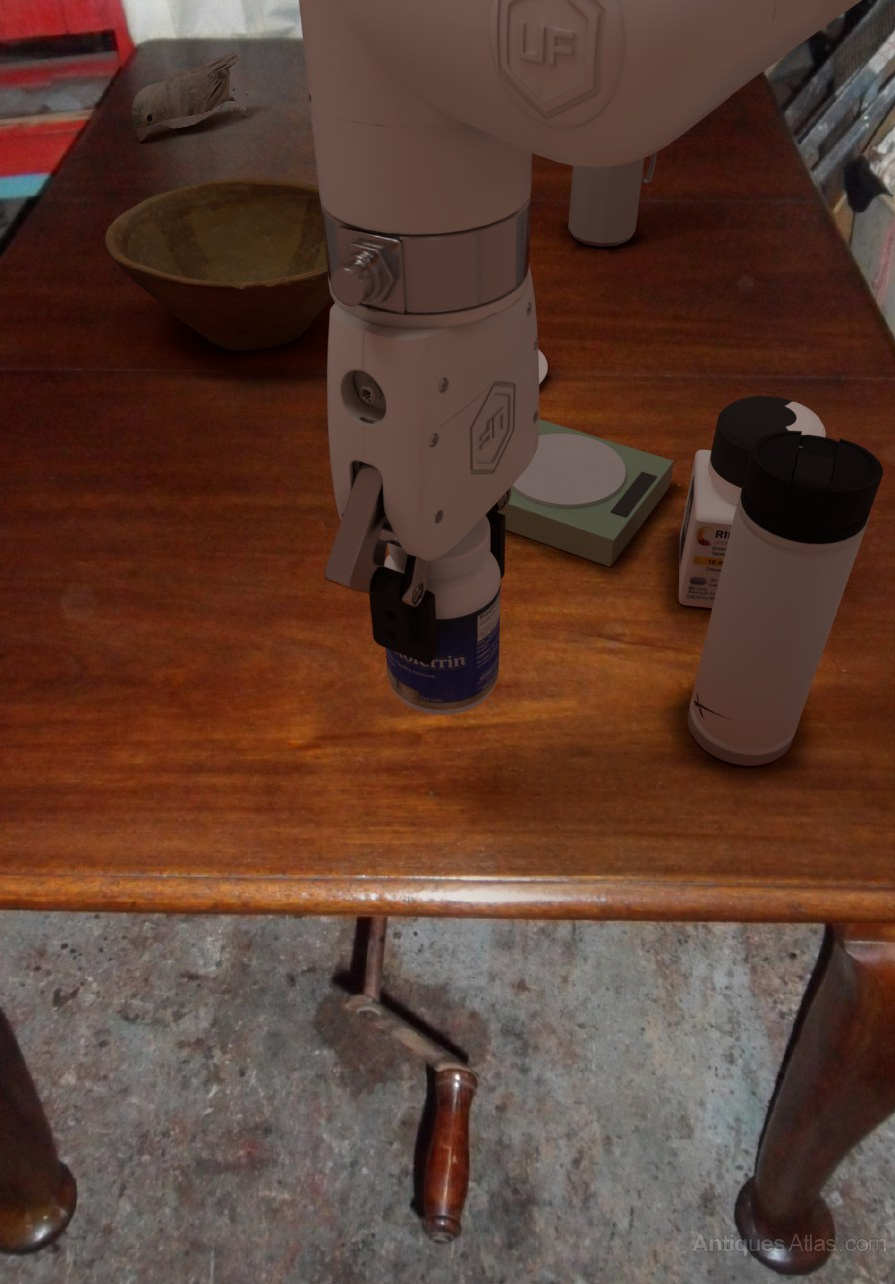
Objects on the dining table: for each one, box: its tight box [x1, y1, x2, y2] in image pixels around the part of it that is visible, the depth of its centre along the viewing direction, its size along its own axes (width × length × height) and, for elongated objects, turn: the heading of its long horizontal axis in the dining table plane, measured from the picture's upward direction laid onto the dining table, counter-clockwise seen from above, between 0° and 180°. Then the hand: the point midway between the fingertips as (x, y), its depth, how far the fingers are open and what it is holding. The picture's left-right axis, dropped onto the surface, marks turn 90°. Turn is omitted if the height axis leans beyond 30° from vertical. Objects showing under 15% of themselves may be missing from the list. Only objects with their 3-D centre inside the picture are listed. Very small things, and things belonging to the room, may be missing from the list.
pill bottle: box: [384, 515, 502, 716], centre depth 51 cm, size 6×6×10 cm
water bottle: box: [567, 151, 658, 248], centre depth 105 cm, size 9×8×25 cm
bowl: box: [104, 177, 333, 352], centre depth 96 cm, size 22×23×10 cm
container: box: [678, 395, 827, 609], centre depth 70 cm, size 8×8×13 cm
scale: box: [498, 418, 675, 568], centre depth 79 cm, size 12×11×3 cm
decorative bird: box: [131, 51, 248, 128], centre depth 135 cm, size 5×16×7 cm, turn 133°
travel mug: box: [687, 431, 884, 767], centre depth 57 cm, size 6×7×20 cm
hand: (441, 607), depth 51 cm, fingers closed on pill bottle, 5 cm apart
